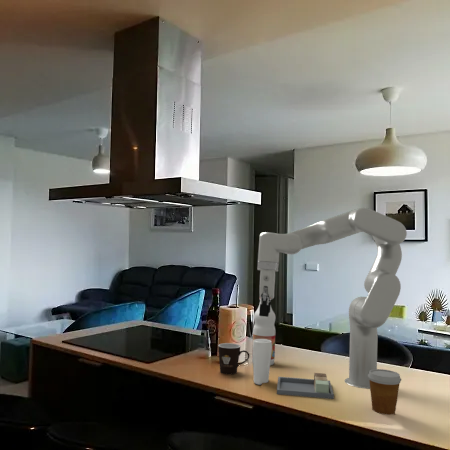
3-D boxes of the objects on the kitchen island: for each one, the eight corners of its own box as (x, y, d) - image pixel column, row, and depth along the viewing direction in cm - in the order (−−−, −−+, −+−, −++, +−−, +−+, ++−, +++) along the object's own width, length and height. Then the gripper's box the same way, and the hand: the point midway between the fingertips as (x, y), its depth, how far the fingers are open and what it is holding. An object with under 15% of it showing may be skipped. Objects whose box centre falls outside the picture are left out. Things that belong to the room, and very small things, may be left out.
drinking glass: (258, 379, 163) (260, 337, 164) (274, 383, 159) (275, 340, 160) (247, 383, 158) (249, 340, 159) (263, 387, 154) (264, 343, 155)
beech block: (326, 389, 151) (326, 377, 152) (327, 392, 147) (327, 380, 148) (314, 388, 152) (314, 376, 152) (315, 391, 148) (315, 379, 148)
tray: (329, 387, 157) (329, 380, 157) (333, 402, 142) (333, 394, 142) (278, 383, 159) (278, 376, 159) (276, 397, 144) (276, 389, 145)
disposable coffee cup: (366, 416, 130) (366, 374, 131) (367, 406, 139) (368, 367, 140) (400, 422, 127) (401, 379, 128) (400, 411, 136) (401, 371, 137)
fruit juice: (248, 361, 189) (250, 294, 190) (267, 359, 193) (269, 294, 194) (258, 366, 180) (260, 297, 182) (278, 365, 184) (280, 297, 185)
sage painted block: (327, 393, 147) (327, 381, 147) (328, 397, 143) (328, 384, 143) (315, 392, 148) (315, 380, 148) (315, 396, 144) (316, 383, 144)
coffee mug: (212, 371, 171) (213, 345, 172) (227, 367, 177) (228, 342, 178) (235, 378, 163) (236, 350, 164) (250, 374, 170) (251, 347, 170)
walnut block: (325, 385, 156) (325, 373, 156) (326, 388, 152) (326, 376, 152) (313, 384, 156) (314, 372, 157) (314, 387, 152) (314, 375, 153)
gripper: (277, 268, 152) (274, 318, 151) (279, 266, 169) (276, 312, 168) (255, 266, 153) (252, 316, 152) (259, 265, 170) (256, 310, 169)
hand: (264, 314), depth 160 cm, fingers open, 9 cm apart
